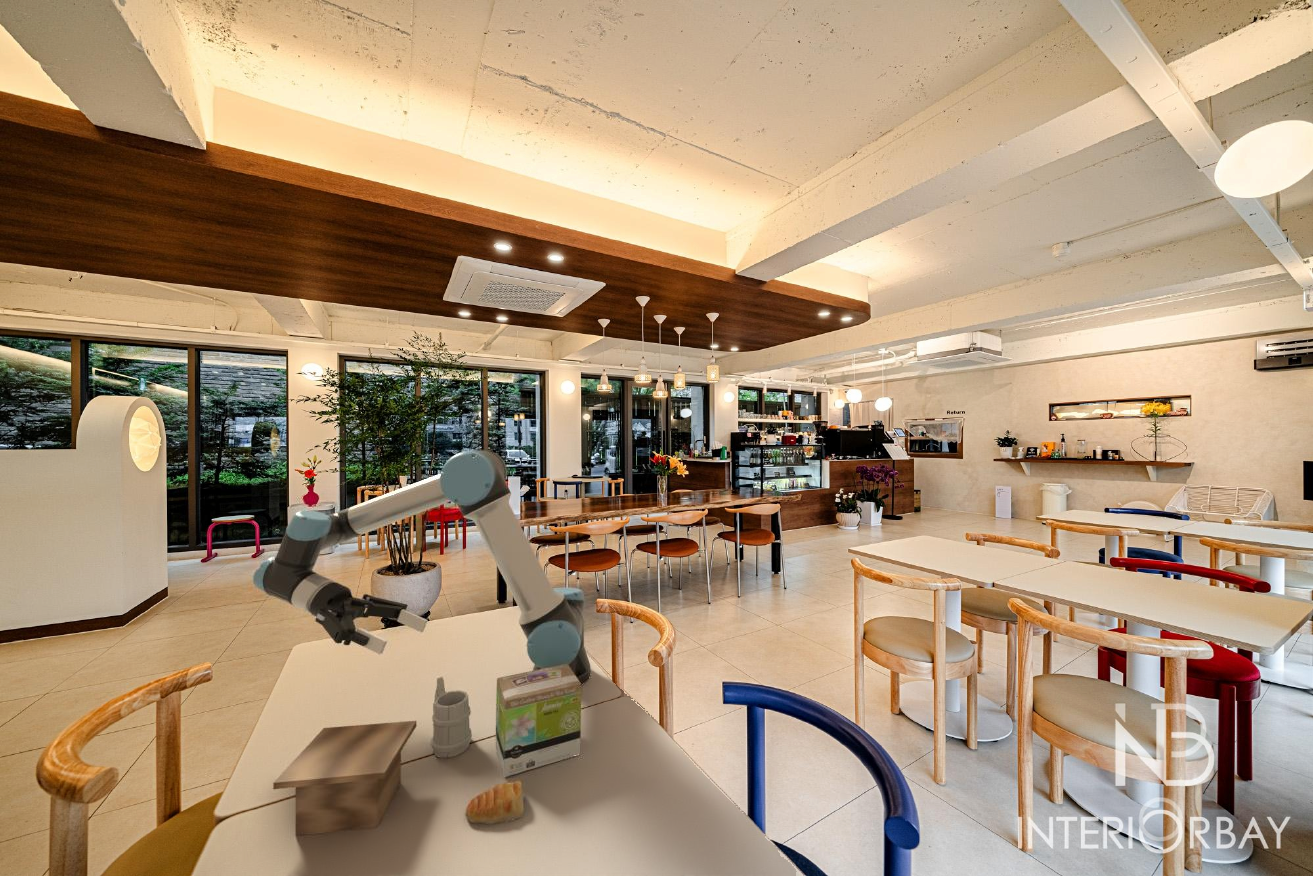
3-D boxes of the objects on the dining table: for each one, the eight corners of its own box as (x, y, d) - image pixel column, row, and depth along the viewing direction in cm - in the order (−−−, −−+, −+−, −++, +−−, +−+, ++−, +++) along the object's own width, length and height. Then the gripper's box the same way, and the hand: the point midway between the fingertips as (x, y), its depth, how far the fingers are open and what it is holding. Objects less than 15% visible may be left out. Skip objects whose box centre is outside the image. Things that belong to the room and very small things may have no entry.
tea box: (503, 781, 87) (503, 700, 87) (495, 749, 96) (495, 676, 96) (582, 756, 94) (582, 681, 94) (567, 728, 103) (567, 660, 103)
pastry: (464, 835, 75) (464, 811, 75) (466, 805, 82) (466, 783, 82) (525, 819, 78) (525, 796, 78) (522, 791, 85) (522, 770, 85)
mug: (440, 764, 91) (440, 702, 91) (417, 738, 100) (417, 681, 100) (478, 746, 97) (478, 687, 97) (453, 722, 105) (453, 668, 105)
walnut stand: (416, 773, 89) (416, 720, 89) (384, 835, 75) (384, 772, 75) (323, 782, 87) (323, 727, 87) (273, 848, 73) (273, 782, 73)
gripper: (358, 599, 117) (433, 633, 114) (264, 631, 92) (355, 677, 89) (370, 570, 117) (444, 604, 114) (278, 595, 92) (370, 639, 89)
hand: (405, 636), depth 102 cm, fingers open, 13 cm apart
